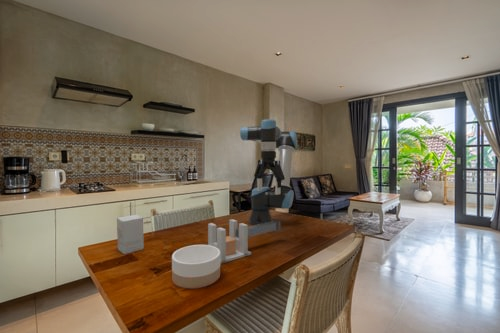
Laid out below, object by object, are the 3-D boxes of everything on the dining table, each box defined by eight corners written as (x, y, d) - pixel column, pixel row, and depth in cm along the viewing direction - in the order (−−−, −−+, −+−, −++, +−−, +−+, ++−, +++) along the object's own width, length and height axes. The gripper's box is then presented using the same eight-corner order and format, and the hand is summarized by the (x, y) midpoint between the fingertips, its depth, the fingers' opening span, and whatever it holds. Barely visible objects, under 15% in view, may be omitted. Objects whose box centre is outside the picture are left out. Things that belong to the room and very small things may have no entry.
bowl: (174, 293, 75) (174, 267, 75) (169, 269, 91) (169, 248, 90) (226, 282, 82) (226, 258, 81) (213, 261, 98) (213, 241, 97)
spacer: (228, 235, 108) (219, 238, 105) (236, 239, 103) (226, 242, 100) (228, 248, 108) (219, 251, 105) (236, 253, 104) (226, 255, 101)
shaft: (274, 228, 124) (274, 219, 123) (280, 230, 120) (280, 221, 120) (235, 237, 109) (235, 227, 109) (241, 240, 106) (241, 230, 106)
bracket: (236, 246, 114) (236, 218, 114) (251, 254, 105) (251, 224, 104) (204, 254, 104) (203, 224, 104) (217, 264, 95) (217, 231, 94)
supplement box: (137, 244, 117) (136, 214, 116) (144, 249, 110) (143, 217, 110) (117, 249, 110) (116, 217, 110) (123, 254, 104) (122, 221, 103)
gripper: (247, 150, 127) (247, 190, 128) (281, 150, 107) (280, 196, 108) (258, 150, 131) (258, 188, 133) (292, 150, 112) (291, 194, 113)
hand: (268, 192), depth 121 cm, fingers open, 13 cm apart
